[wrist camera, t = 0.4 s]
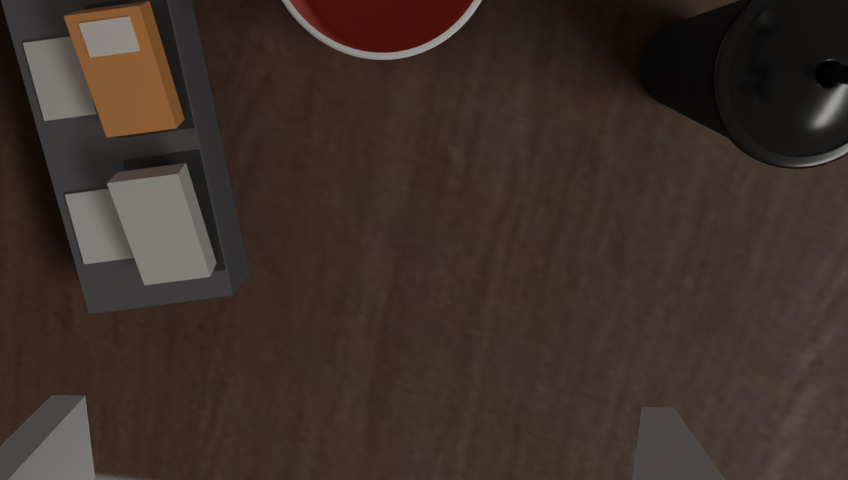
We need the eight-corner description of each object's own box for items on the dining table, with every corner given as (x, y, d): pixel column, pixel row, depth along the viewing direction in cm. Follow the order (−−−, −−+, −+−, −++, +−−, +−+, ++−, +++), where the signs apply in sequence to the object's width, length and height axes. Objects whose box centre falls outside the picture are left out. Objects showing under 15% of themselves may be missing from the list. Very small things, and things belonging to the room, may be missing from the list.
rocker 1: (76, 10, 33) (62, 16, 32) (149, 0, 33) (138, 5, 32) (117, 128, 36) (106, 138, 35) (184, 119, 36) (175, 129, 35)
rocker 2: (117, 172, 35) (106, 183, 34) (185, 163, 35) (177, 173, 34) (153, 271, 38) (144, 285, 37) (216, 263, 38) (210, 276, 37)
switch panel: (-5, -170, 36) (-57, -197, 32) (151, -192, 36) (118, -223, 32) (118, 290, 43) (87, 315, 39) (249, 273, 43) (232, 296, 39)
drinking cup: (591, 45, 40) (761, 41, 20) (709, -32, 39) (1005, -113, 19) (653, 155, 41) (863, 247, 22) (767, 84, 40) (1092, 116, 21)
